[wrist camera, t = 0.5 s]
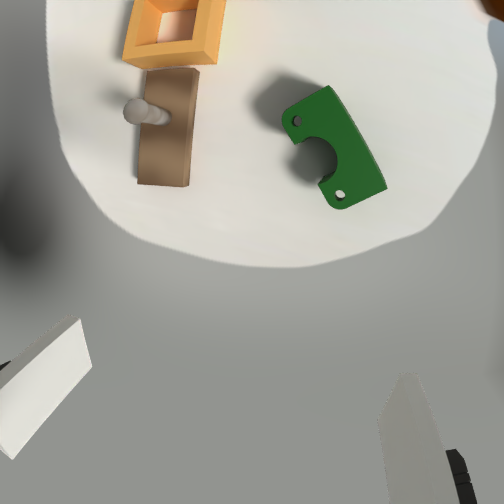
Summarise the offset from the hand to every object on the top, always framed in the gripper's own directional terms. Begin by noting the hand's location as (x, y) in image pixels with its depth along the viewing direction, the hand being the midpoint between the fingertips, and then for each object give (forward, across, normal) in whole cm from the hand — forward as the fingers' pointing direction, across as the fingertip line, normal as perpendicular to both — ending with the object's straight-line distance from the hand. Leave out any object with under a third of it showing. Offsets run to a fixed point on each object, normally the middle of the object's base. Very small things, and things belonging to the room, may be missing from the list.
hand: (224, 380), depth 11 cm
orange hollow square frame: (+26, -14, +24) cm, 38 cm away
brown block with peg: (+26, -14, +11) cm, 31 cm away
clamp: (+26, +5, +9) cm, 28 cm away
